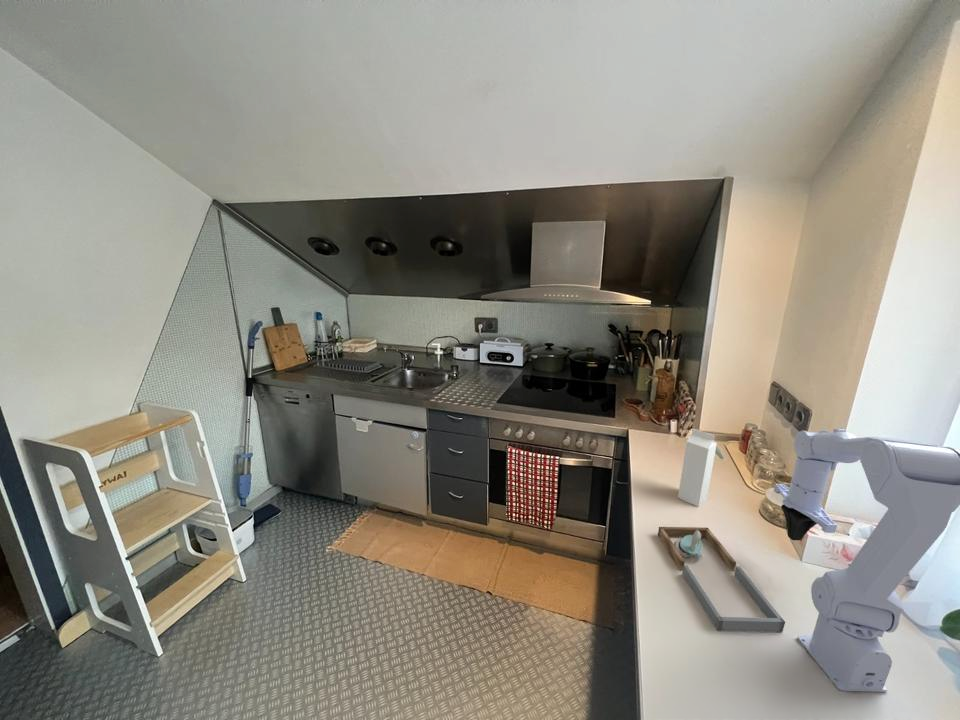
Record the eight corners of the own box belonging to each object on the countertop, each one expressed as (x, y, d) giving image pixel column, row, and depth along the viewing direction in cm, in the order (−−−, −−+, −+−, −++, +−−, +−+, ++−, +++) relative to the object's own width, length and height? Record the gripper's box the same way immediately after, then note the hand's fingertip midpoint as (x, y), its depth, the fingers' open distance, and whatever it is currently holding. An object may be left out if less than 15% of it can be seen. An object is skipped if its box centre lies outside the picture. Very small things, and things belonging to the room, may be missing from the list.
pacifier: (673, 556, 94) (701, 565, 91) (676, 534, 92) (705, 542, 90) (675, 538, 100) (701, 545, 97) (677, 517, 99) (704, 524, 96)
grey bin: (782, 632, 75) (785, 621, 74) (717, 630, 75) (719, 620, 74) (737, 575, 88) (739, 566, 87) (682, 574, 88) (683, 565, 88)
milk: (698, 507, 112) (710, 439, 106) (677, 497, 117) (687, 431, 111) (706, 499, 116) (719, 432, 110) (686, 490, 120) (696, 425, 114)
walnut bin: (734, 571, 89) (736, 562, 89) (679, 570, 89) (681, 561, 89) (706, 535, 101) (707, 527, 100) (657, 534, 101) (659, 526, 100)
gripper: (765, 466, 90) (754, 516, 94) (817, 505, 76) (802, 562, 80) (796, 467, 90) (784, 517, 93) (853, 506, 76) (836, 563, 79)
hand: (794, 538), depth 87 cm, fingers closed
